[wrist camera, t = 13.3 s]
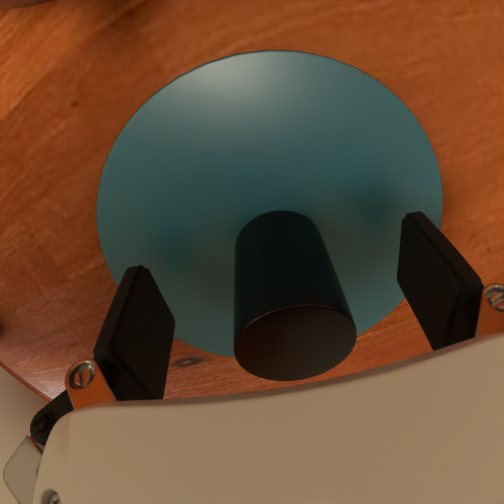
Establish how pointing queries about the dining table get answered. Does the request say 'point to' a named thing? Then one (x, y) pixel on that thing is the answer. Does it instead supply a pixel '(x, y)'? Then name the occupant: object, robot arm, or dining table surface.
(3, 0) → the enamel pot
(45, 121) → the dining table surface
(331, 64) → the pot lid
